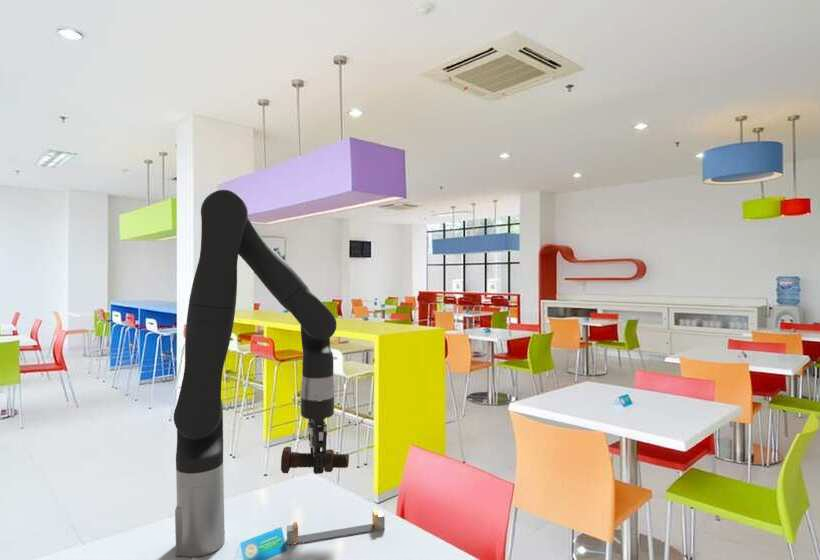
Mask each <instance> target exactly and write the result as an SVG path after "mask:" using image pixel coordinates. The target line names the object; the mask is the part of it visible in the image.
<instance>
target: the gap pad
mask: <svg viewBox="0 0 820 560" xmlns="http://www.w3.org/2000/svg"><path fill="white" fill-rule="evenodd" d="M372 532H376V531H375V529H374V527H373V523H370V524H369V523H368V524H362V525H356V526H351V527H350V526H349V527H345V528H344V527H343V528H338V529H332V530H326V531H321V532H314V533H307V534H302V535H298V542H299V543H302V544H304V543H303V542H308V543H313V541H314V542H319V541H324V540H331V539H336V538H343V537H347V536H354V535H360V534H366V533H372ZM299 543H298V544H299Z"/></svg>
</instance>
